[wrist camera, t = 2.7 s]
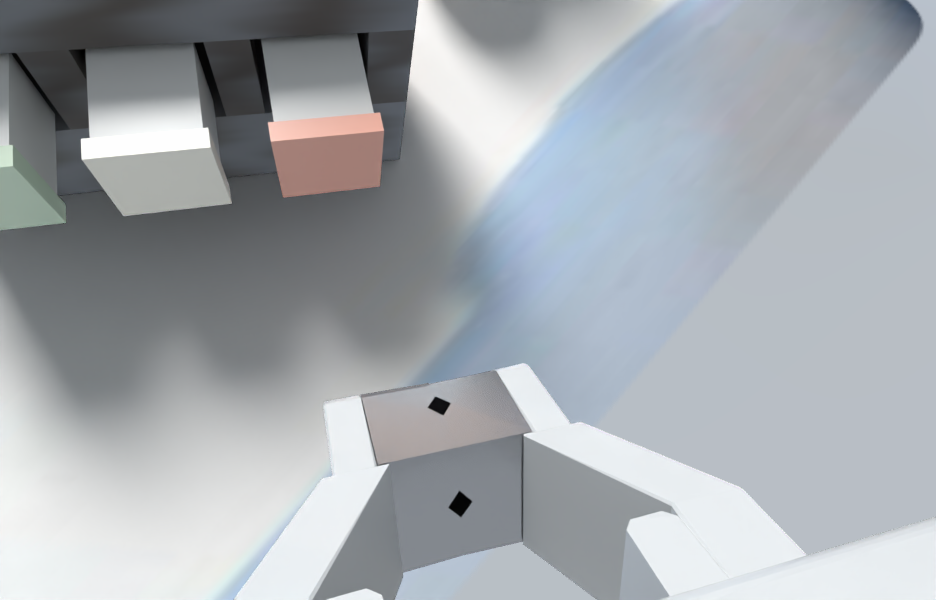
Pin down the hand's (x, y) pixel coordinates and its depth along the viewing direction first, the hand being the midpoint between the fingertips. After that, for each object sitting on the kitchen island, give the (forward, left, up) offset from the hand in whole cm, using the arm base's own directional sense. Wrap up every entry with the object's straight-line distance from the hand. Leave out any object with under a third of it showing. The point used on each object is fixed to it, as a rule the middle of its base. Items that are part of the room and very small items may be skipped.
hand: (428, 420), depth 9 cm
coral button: (0, +14, -14) cm, 20 cm away
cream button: (-6, +14, -14) cm, 21 cm away
